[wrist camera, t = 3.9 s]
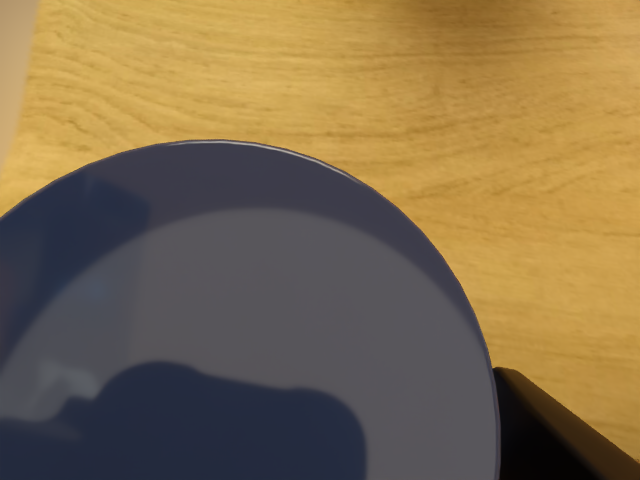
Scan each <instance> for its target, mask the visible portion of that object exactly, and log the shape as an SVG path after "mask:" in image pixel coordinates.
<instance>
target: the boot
mask: <svg viewBox="0 0 640 480" xmlns="http://www.w3.org/2000/svg"><path fill="white" fill-rule="evenodd" d="M500 466H501V422H500V413H499V405H498V396H497V387H496V382H495V378H494V373H493V369H492V365H491V361H490V356H489V352H488V348H487V345H486V343H485V340H484V337H483V334H482V331H481V329H480V326H479V323H478V320H477V318H476V315H475V313H474V311H473V309H472V307H471V305H470V303H469V301H468V299H467V297H466V295H465V293H464V291H463V289H462V286H461V284H460V283H459V281H458V280H457V278H456V277H455V275H454V273H453V272H452V270H451V269H450V267H449V266H448V264H447V263H446V261H445V260H444V258H443V256H442V255H441V254H440V253H439V251H438V250H437V249H436V248H435V246H434V245H433V244H432V243H431V242H430V240H429V239H428V238H427V237H426V235H425V234H424V233H423V232H422V231H421V229H419V228H418V227H417V226H416V225H415V224H414V223H413V222H412V221H411V220H410V219H409V218H408V217H407V216H406V215H405V214H404V213H403V212H402V211H401V210H400V209H399V208H398V207H396V206H395V205H394V204H393V203H391V202H390V201H389V200H387V199H386V198H385V197H383V196H382V195H381V194H380V193H378V192H377V191H376V190H374V189H373V188H372V187H370V186H368V185H367V184H365V183H363V182H362V181H360V180H358V179H357V178H355V177H353V176H352V175H350V174H348V173H347V172H345V171H343V170H340V169H338V168H336V167H334V166H332V165H329V164H327V163H325V162H323V161H321V160H319V159H316V158H313V157H310V156H307V155H304V154H301V153H298V152H295V151H292V150H289V149H285V148H280V147H275V146H271V145H266V144H261V143H256V142H247V141H236V140H225V139H208V140H184V141H176V142H168V143H160V144H154V145H150V146H146V147H141V148H137V149H133V150H129V151H124V152H121V153H118V154H115V155H113V156H110V157H107V158H104V159H101V160H98V161H96V162H93V163H90V164H87V165H85V166H83V167H81V168H79V169H77V170H75V171H73V172H71V173H69V174H67V175H65V176H62V177H60V178H58V179H56V180H54V181H53V182H51V183H50V184H48V185H46V186H45V187H43V188H41V189H40V190H38V191H37V192H35V193H33V194H32V195H30V196H28V197H27V198H25V199H24V200H22V201H21V202H20V203H18V204H17V205H16V206H14V207H13V208H12V209H11V210H9V211H8V212H7V213H5V214H4V215H3V216H2V217H0V480H499V475H500Z"/></svg>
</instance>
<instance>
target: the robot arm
mask: <svg viewBox="0 0 640 480" xmlns="http://www.w3.org/2000/svg"><path fill="white" fill-rule="evenodd" d="M493 373H494V378H495V382H496V387H497V396H498V405H499V413H500V422H501V466H500V475H499V480H640V464H639V463H638V462H637V461H635V460H634V459H633V458H631V457H630V456H629V455H627V454H626V453H625V452H623V451H622V450H621V449H619V448H618V447H617V446H616V445H614V444H613V443H612V442H610V441H609V440H608V439H606V438H605V437H604V436H602V435H601V434H600V433H598V432H597V431H596V430H595V429H593V428H592V427H591V426H589V425H588V424H587V423H585V422H584V421H583V420H581V419H580V418H579V417H577V416H576V415H575V414H573V413H572V412H571V411H570V410H568V409H567V408H566V407H564V406H563V405H562V404H560V403H559V402H558V401H556V400H555V399H554V398H552V397H551V396H550V395H549V394H547V393H546V392H545V391H543V390H542V389H541V388H539V387H538V386H537V385H535V384H534V383H533V382H531V381H530V380H529V379H527V378H526V377H525V376H524V375H522V374H521V373H520V372H518V371H516V370H513V369H508V368H503V367H495V368H493Z"/></svg>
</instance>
